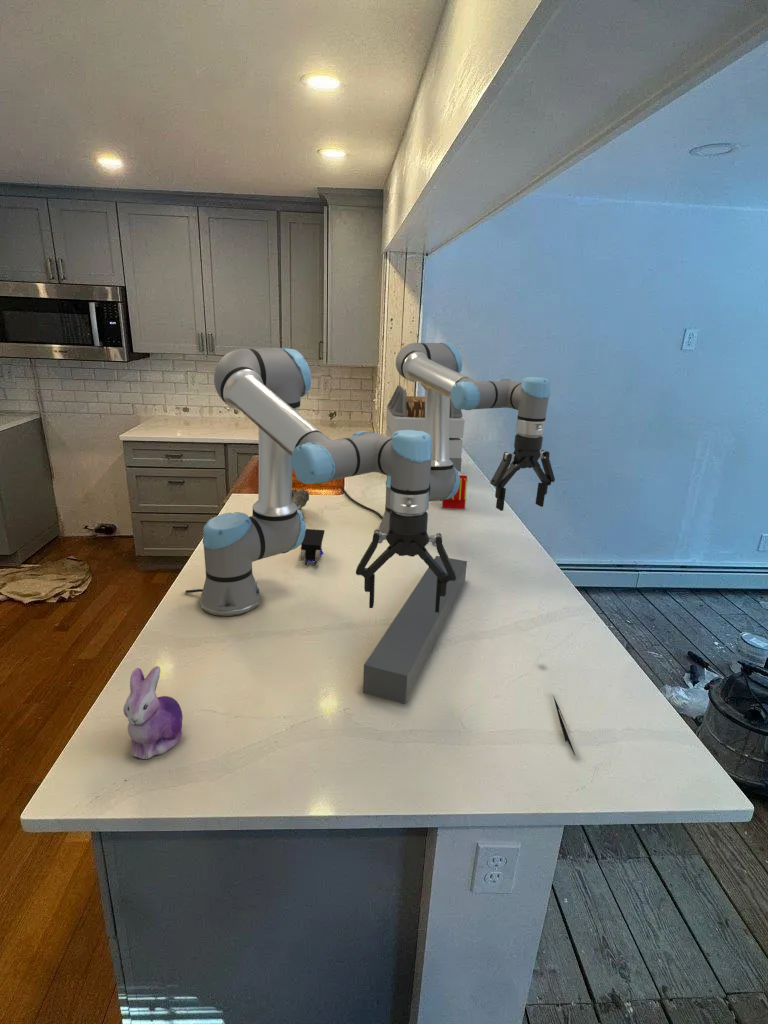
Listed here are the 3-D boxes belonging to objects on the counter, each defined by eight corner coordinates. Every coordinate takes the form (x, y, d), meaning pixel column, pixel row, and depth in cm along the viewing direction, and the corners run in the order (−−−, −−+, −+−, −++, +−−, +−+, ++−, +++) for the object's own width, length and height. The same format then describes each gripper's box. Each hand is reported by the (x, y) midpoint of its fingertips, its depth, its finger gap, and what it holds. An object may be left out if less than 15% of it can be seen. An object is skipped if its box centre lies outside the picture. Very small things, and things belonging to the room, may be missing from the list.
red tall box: (459, 466, 252) (471, 476, 223) (457, 496, 255) (469, 509, 225) (432, 466, 252) (440, 475, 222) (430, 495, 254) (438, 509, 225)
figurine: (131, 770, 95) (121, 695, 90) (126, 731, 103) (116, 661, 98) (190, 752, 99) (183, 680, 94) (180, 716, 108) (173, 648, 102)
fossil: (278, 495, 221) (307, 474, 216) (294, 513, 224) (323, 493, 219) (262, 520, 201) (293, 498, 196) (280, 540, 204) (311, 518, 199)
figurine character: (321, 573, 171) (325, 548, 184) (321, 551, 168) (325, 527, 181) (299, 572, 171) (304, 547, 184) (298, 550, 167) (304, 526, 181)
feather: (542, 671, 128) (548, 665, 128) (575, 760, 102) (582, 753, 101) (536, 667, 128) (542, 661, 128) (567, 755, 102) (574, 748, 101)
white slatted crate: (382, 463, 289) (386, 382, 275) (445, 464, 293) (451, 384, 279) (390, 482, 257) (394, 392, 243) (460, 483, 261) (468, 394, 247)
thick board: (434, 576, 169) (436, 555, 167) (465, 582, 167) (467, 561, 164) (362, 692, 117) (363, 665, 115) (405, 704, 114) (407, 675, 112)
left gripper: (342, 513, 108) (342, 612, 115) (474, 520, 106) (465, 620, 113) (348, 501, 115) (347, 595, 122) (471, 507, 114) (463, 602, 120)
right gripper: (497, 439, 149) (489, 515, 156) (574, 435, 158) (563, 507, 165) (483, 433, 155) (475, 506, 163) (557, 430, 164) (547, 499, 172)
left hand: (404, 607), depth 118 cm, fingers open, 13 cm apart
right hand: (519, 507), depth 164 cm, fingers open, 13 cm apart
